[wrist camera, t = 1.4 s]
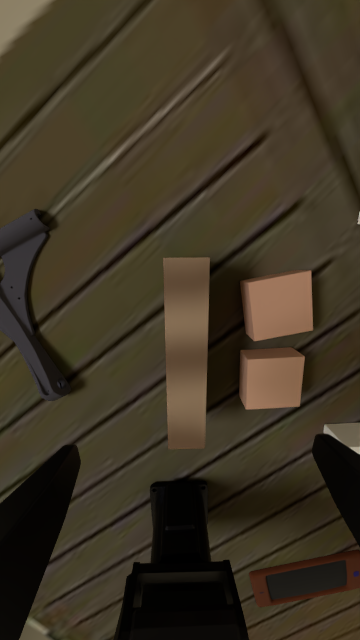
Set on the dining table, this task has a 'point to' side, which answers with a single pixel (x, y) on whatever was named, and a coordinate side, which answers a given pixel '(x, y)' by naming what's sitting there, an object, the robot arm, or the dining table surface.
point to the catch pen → (346, 429)
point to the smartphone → (306, 578)
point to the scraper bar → (186, 349)
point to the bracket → (11, 300)
